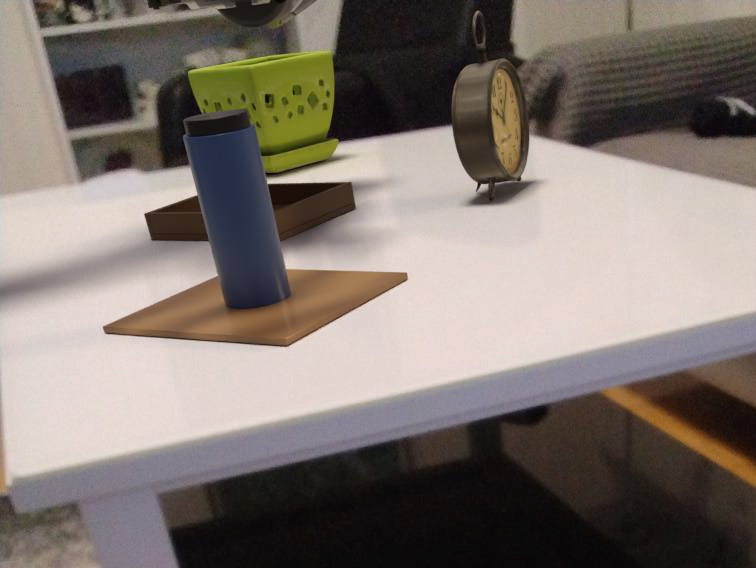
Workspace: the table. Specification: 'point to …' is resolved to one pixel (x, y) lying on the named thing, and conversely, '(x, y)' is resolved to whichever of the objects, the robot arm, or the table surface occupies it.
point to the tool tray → (289, 201)
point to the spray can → (236, 208)
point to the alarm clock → (490, 119)
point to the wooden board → (258, 309)
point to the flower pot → (276, 103)
